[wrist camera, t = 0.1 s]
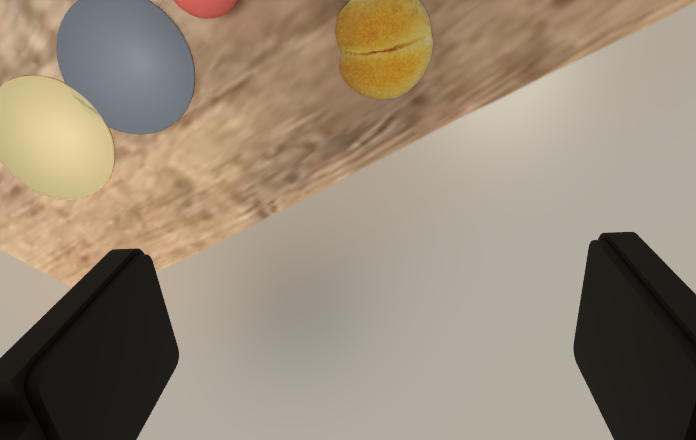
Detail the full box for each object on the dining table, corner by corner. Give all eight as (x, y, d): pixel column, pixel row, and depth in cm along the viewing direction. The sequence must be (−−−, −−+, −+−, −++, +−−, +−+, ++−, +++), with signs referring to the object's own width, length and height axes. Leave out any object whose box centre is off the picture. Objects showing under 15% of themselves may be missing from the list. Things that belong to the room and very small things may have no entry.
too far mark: (-37, 128, 50) (-38, 129, 50) (36, 46, 46) (35, 46, 46) (64, 220, 54) (63, 221, 54) (140, 153, 50) (139, 153, 50)
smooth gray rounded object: (30, 53, 46) (29, 53, 46) (117, -44, 42) (116, -45, 42) (134, 158, 50) (133, 159, 50) (223, 79, 46) (222, 79, 46)
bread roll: (345, 100, 46) (342, 110, 43) (332, -4, 42) (327, -2, 39) (434, 90, 45) (438, 100, 42) (429, -17, 41) (433, -16, 38)
